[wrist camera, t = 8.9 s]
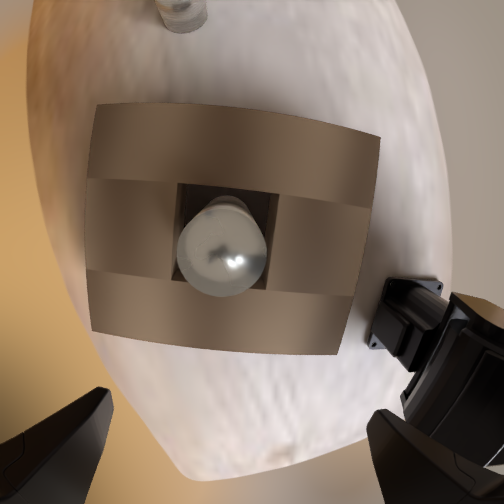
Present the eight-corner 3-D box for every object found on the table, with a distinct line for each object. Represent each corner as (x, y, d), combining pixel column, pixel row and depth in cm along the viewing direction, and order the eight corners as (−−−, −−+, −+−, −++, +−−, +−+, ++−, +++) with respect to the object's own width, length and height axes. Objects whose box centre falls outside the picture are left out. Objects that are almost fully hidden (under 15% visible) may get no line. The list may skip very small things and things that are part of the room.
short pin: (211, 3, 14) (207, -36, 10) (203, 33, 15) (196, -4, 10) (169, 3, 14) (156, -33, 9) (160, 33, 15) (142, -1, 10)
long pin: (253, 198, 18) (272, 214, 10) (247, 245, 19) (260, 300, 10) (204, 192, 18) (180, 204, 9) (200, 240, 19) (174, 291, 10)
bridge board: (338, 147, 18) (380, 137, 12) (311, 310, 21) (337, 354, 15) (134, 124, 17) (97, 104, 11) (125, 291, 19) (92, 330, 14)
